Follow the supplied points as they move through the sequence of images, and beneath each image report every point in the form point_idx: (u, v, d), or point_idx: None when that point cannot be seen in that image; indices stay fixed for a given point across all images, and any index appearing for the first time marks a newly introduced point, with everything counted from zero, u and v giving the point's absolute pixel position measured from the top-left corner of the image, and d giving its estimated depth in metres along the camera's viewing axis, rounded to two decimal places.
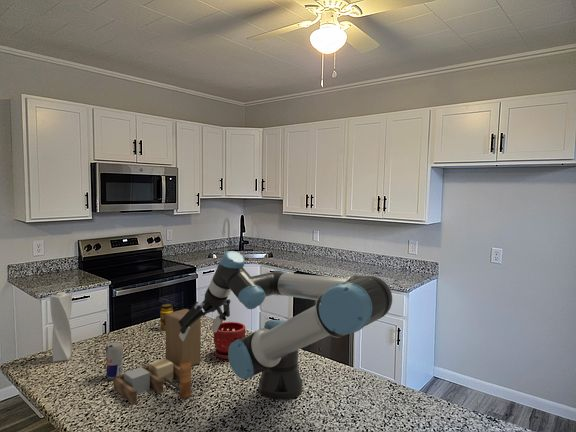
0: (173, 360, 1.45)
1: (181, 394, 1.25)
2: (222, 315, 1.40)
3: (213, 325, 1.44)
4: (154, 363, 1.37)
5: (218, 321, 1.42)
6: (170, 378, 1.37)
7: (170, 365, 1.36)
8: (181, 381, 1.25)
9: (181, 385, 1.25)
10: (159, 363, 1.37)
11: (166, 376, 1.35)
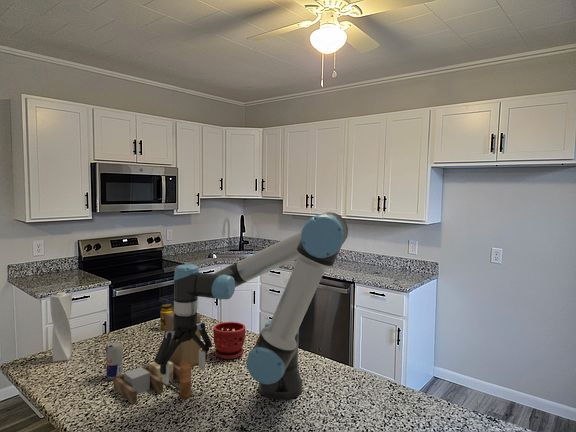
0: (173, 360, 1.45)
1: (181, 394, 1.25)
2: (203, 345, 1.30)
3: (199, 363, 1.32)
4: (154, 363, 1.37)
5: (202, 355, 1.31)
6: (170, 378, 1.37)
7: (170, 365, 1.36)
8: (181, 381, 1.25)
9: (181, 385, 1.25)
10: None
11: None
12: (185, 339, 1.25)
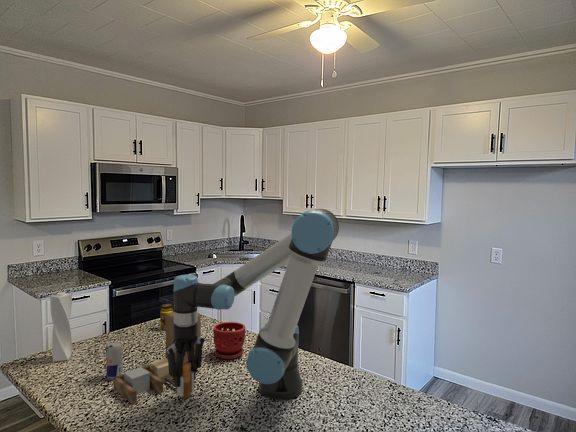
0: None
1: None
2: (194, 363, 1.27)
3: None
4: (155, 363, 1.37)
5: None
6: (171, 378, 1.37)
7: None
8: None
9: None
10: (159, 363, 1.37)
11: (167, 376, 1.36)
12: (185, 350, 1.25)
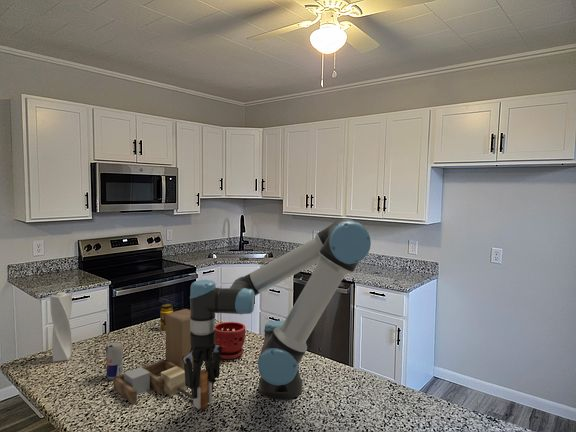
0: (173, 360, 1.45)
1: None
2: (212, 373, 1.21)
3: None
4: (166, 372, 1.30)
5: (208, 386, 1.21)
6: (183, 387, 1.30)
7: (183, 374, 1.30)
8: None
9: None
10: (171, 372, 1.30)
11: (179, 385, 1.29)
12: (203, 359, 1.18)
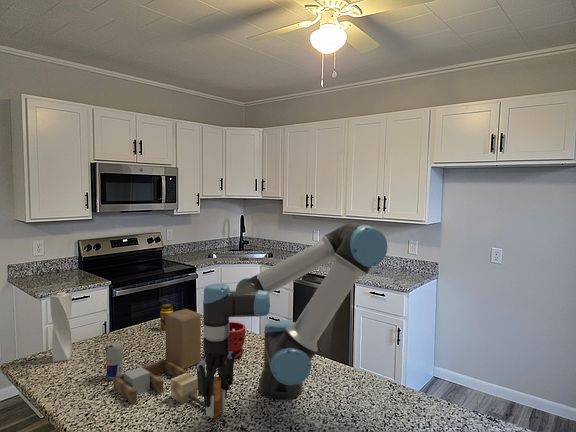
0: (173, 360, 1.45)
1: None
2: (225, 380, 1.17)
3: None
4: (177, 379, 1.25)
5: (221, 394, 1.16)
6: (194, 395, 1.26)
7: (194, 381, 1.25)
8: None
9: None
10: (182, 379, 1.25)
11: (190, 393, 1.24)
12: (216, 366, 1.14)
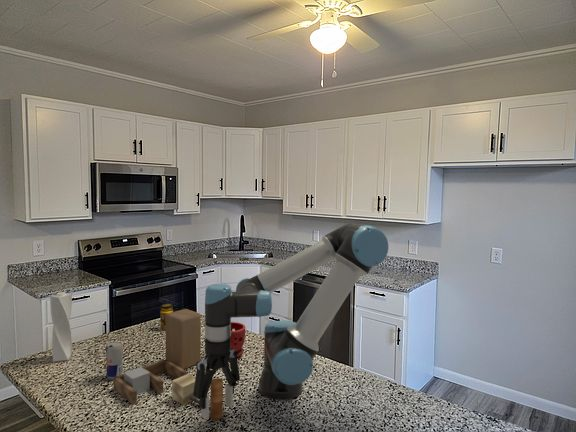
0: (173, 360, 1.45)
1: (212, 415, 1.14)
2: (231, 377, 1.17)
3: (226, 399, 1.19)
4: (178, 380, 1.25)
5: (229, 390, 1.18)
6: None
7: None
8: (212, 401, 1.14)
9: (212, 405, 1.14)
10: (183, 380, 1.25)
11: (191, 394, 1.24)
12: (218, 367, 1.13)
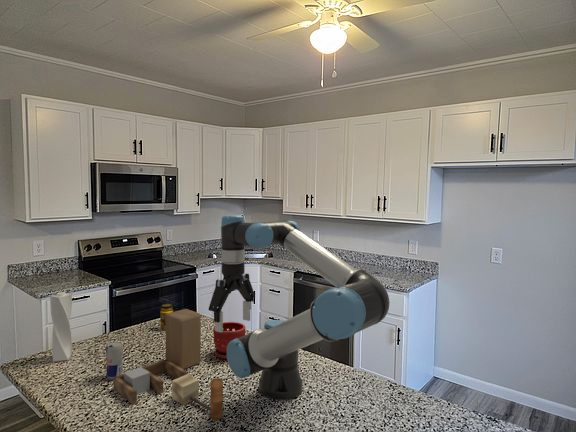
0: (173, 360, 1.45)
1: (212, 415, 1.14)
2: (248, 295, 1.32)
3: (244, 315, 1.34)
4: (178, 380, 1.25)
5: (247, 305, 1.33)
6: (195, 396, 1.25)
7: (196, 382, 1.25)
8: (212, 401, 1.14)
9: (212, 405, 1.14)
10: (183, 380, 1.25)
11: (191, 394, 1.24)
12: (234, 288, 1.26)
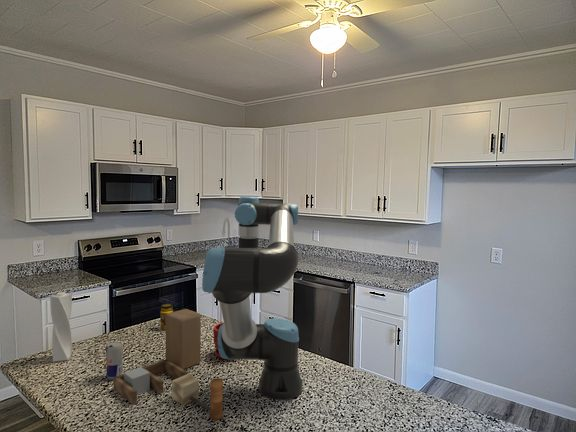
0: (173, 360, 1.45)
1: (212, 415, 1.14)
2: None
3: None
4: (178, 380, 1.25)
5: None
6: (195, 396, 1.25)
7: (196, 382, 1.25)
8: (212, 401, 1.14)
9: (212, 405, 1.14)
10: (183, 380, 1.25)
11: (191, 394, 1.24)
12: None
